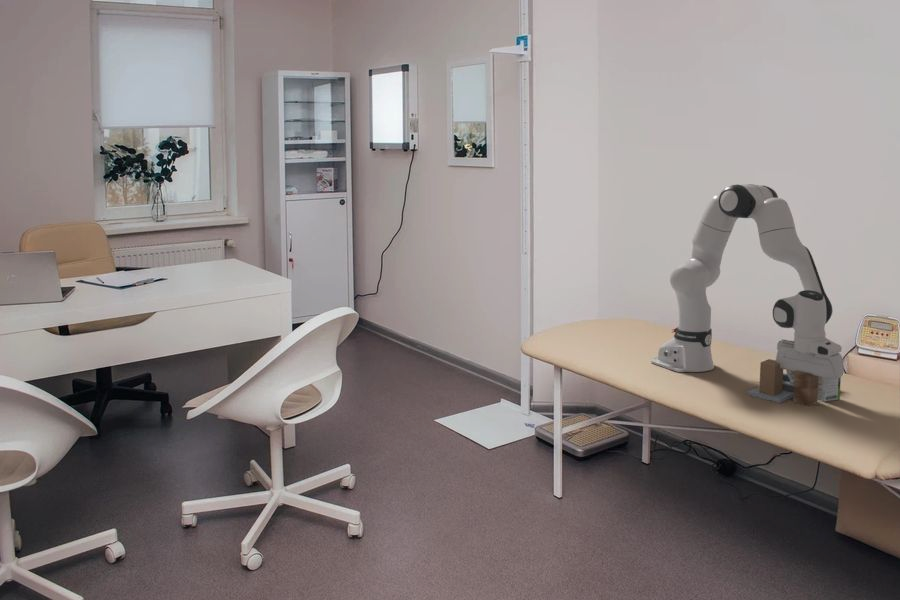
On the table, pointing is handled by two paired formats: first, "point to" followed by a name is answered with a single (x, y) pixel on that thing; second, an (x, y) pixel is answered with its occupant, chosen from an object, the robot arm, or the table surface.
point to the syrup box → (829, 390)
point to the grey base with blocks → (773, 383)
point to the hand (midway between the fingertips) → (807, 387)
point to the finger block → (805, 388)
